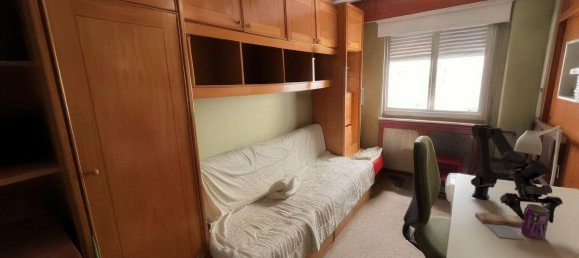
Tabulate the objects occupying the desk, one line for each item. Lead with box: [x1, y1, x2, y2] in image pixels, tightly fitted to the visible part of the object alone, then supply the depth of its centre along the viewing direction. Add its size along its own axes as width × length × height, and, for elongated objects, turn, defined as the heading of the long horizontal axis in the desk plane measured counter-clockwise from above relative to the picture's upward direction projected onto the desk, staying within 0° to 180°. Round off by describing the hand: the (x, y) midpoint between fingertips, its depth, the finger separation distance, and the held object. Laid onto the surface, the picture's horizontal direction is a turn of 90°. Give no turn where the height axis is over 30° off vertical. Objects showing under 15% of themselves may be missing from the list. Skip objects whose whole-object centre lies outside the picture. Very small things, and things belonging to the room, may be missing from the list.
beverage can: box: [520, 203, 549, 239], centre depth 99 cm, size 7×7×12 cm
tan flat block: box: [474, 212, 522, 227], centre depth 110 cm, size 20×6×2 cm, turn 79°
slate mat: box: [485, 223, 526, 241], centre depth 102 cm, size 9×9×1 cm
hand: (537, 221), depth 98 cm, fingers open, 9 cm apart
